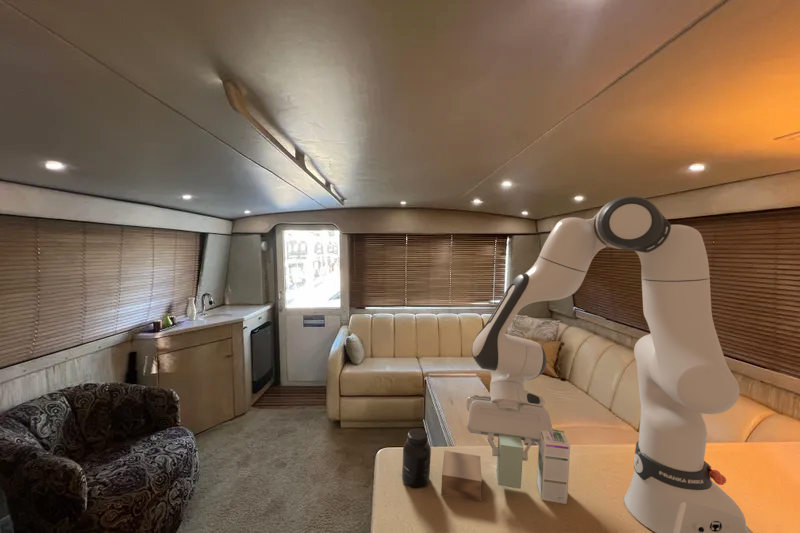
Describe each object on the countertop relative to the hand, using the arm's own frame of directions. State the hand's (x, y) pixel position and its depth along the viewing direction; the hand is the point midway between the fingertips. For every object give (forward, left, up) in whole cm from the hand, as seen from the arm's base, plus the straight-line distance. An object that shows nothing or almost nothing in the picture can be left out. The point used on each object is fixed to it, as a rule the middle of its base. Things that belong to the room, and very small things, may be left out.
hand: (509, 457), depth 79 cm
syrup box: (-10, -2, -9) cm, 13 cm away
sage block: (0, -1, -6) cm, 6 cm away
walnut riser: (+11, 0, -8) cm, 14 cm away
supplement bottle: (+22, +1, -9) cm, 24 cm away
